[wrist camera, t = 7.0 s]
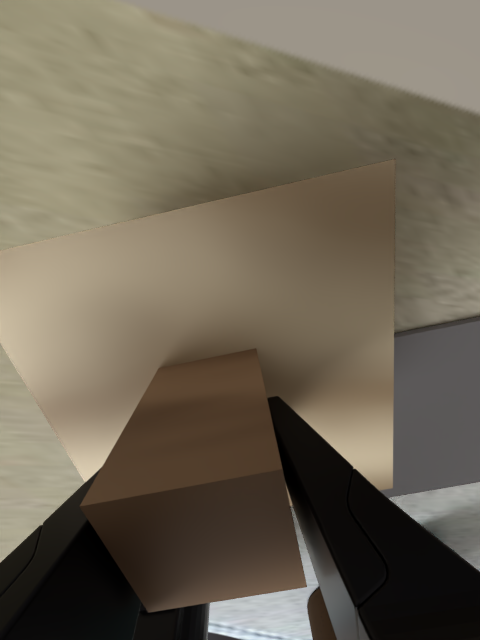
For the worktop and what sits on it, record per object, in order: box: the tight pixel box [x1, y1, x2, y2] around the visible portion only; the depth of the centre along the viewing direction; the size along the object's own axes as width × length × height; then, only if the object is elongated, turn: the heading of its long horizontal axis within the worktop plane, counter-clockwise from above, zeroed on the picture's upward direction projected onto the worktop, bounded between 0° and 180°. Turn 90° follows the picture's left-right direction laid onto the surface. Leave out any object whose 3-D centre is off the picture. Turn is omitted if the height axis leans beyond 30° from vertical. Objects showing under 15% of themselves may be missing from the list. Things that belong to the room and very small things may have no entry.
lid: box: [0, 159, 396, 613], centre depth 7 cm, size 13×13×5 cm
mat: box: [379, 317, 480, 498], centre depth 17 cm, size 15×15×1 cm
